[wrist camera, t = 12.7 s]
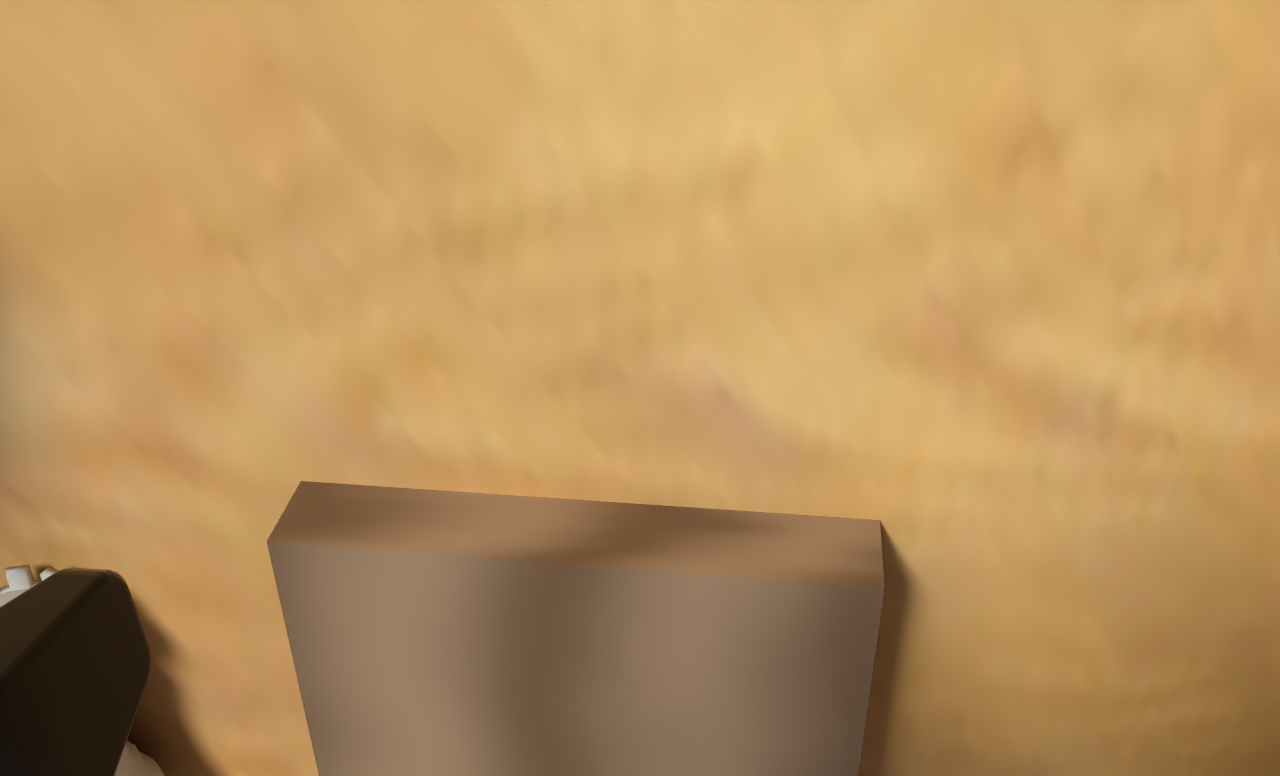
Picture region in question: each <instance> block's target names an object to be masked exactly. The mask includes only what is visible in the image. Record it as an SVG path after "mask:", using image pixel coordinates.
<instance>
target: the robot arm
mask: <svg viewBox="0 0 1280 776" xmlns="http://www.w3.org/2000/svg"><path fill="white" fill-rule="evenodd" d="M149 671H150V650H149V646H148V642H147V639H146V637H145V634H144V631H143V628H142V625H141V622H140V620H139V617H138V614H137V611H136V608H135V605H134V603H133V600H132V597H131V594H130V591H129V589H128V586H127V584H126V582H125V580H124V579H123V578H122V577H121V576H120V575H119V574H118V573H117V572H114V571H111V570H100V569H81V568H70V569H63V570H60V571H58V572H56V573H54V574H52V575H51V576H49V577H47V578H46V579H44V580H43V581H41V582H39V583H38V584H36V585H35V586H33V587H31V588H30V589H28V590H27V591H25V592H23V593H22V594H20V595H19V596H17V597H15V598H14V599H12V600H11V601H9V602H7V603H6V604H4V605H3V606H1V607H0V776H115V773H116V770H117V767H118V764H119V761H120V758H121V756H122V753H123V750H124V747H125V744H126V741H127V738H128V735H129V733H130V730H131V727H132V724H133V721H134V718H135V715H136V712H137V710H138V707H139V704H140V701H141V698H142V695H143V692H144V689H145V687H146V684H147V680H148V676H149Z"/></svg>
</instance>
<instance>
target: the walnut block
mask: <svg viewBox="0 0 1280 776" xmlns="http://www.w3.org/2000/svg"><path fill="white" fill-rule="evenodd" d="M267 544H268V549H269V553H270V558H271V562H272V567H273V571H274V576H275V580H276V585H277V589H278V594H279V598H280V603H281V607H282V612H283V616H284V621H285V625H286V629H287V634H288V638H289V643H290V647H291V652H292V656H293V661H294V665H295V670H296V674H297V679H298V683H299V688H300V692H301V697H302V701H303V706H304V710H305V715H306V719H307V724H308V728H309V733H310V737H311V742H312V746H313V751H314V755H315V760H316V764H317V768H318V773H319V776H858V774H859V767H860V760H861V753H862V746H863V739H864V732H865V725H866V718H867V711H868V703H869V696H870V689H871V682H872V675H873V668H874V661H875V654H876V647H877V640H878V633H879V626H880V619H881V612H882V605H883V597H884V590H885V584H884V570H883V556H882V542H881V528H880V520H867V519H853V518H838V517H823V516H808V515H793V514H779V513H764V512H749V511H734V510H719V509H705V508H690V507H675V506H660V505H645V504H631V503H616V502H601V501H586V500H571V499H557V498H542V497H527V496H512V495H498V494H483V493H468V492H453V491H438V490H424V489H409V488H394V487H379V486H364V485H350V484H335V483H320V482H305V481H301V482H300V484H299V486H298V487H297V489H296V491H295V493H294V494H293V496H292V498H291V500H290V501H289V503H288V505H287V507H286V509H285V510H284V512H283V514H282V516H281V517H280V519H279V521H278V523H277V524H276V526H275V528H274V530H273V531H272V533H271V535H270V537H269V539H268V540H267Z"/></svg>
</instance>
